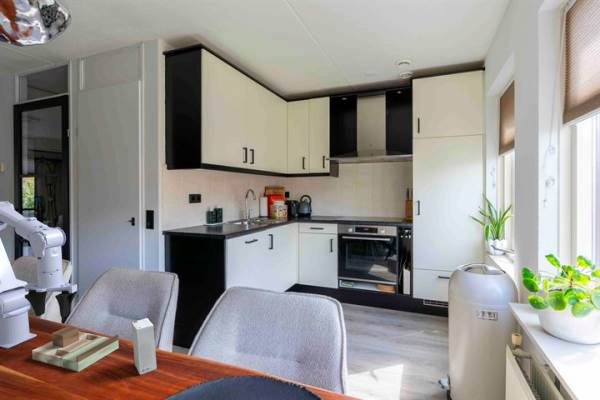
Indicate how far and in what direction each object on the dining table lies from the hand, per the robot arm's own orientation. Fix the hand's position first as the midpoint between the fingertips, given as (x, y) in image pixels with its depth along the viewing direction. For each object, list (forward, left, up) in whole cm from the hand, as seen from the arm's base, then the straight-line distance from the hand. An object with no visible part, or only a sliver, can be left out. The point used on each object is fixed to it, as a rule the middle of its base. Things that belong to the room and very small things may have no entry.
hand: (52, 315), depth 92 cm
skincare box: (+33, +1, -10) cm, 34 cm away
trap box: (+9, 0, -10) cm, 13 cm away
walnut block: (+5, 0, -8) cm, 9 cm away
